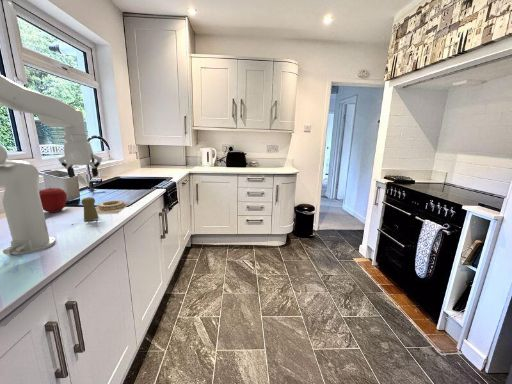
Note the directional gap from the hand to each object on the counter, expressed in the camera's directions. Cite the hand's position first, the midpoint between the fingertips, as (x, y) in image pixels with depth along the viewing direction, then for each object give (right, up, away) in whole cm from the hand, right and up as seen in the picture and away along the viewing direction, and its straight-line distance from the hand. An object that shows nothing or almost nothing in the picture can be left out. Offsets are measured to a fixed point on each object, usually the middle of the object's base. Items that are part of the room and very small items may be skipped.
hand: (83, 176), depth 109 cm
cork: (0, -21, +5) cm, 21 cm away
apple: (-27, -18, +16) cm, 36 cm away
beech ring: (-1, -15, +22) cm, 27 cm away
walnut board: (0, -17, +20) cm, 26 cm away
